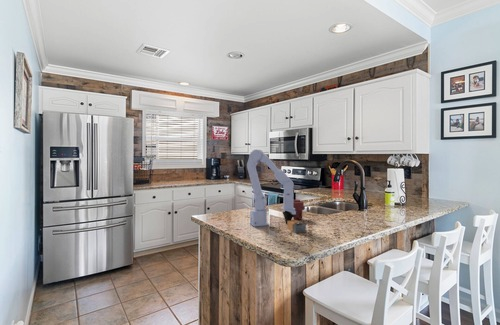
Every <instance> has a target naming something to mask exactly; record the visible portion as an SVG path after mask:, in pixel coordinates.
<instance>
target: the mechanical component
mask: <svg viewBox="0 0 500 325" xmlns="http://www.w3.org/2000/svg"><path fill="white" fill-rule="evenodd" d="M304 204H305V203H304V201H302V200H300V199H293V208H295V211H296V214H294V215H293V217H292V219H293V220H298V221H300V220H303V211H304V210H306V206H305V205H304Z"/></svg>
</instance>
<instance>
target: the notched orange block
mask: <svg viewBox="0 0 500 325" xmlns="http://www.w3.org/2000/svg"><path fill="white" fill-rule="evenodd" d="M297 222H301V223H303V222H302V221H300V220H294V219H292V220H291V221H287V224H286V225H287V226H286V227H287V230H290V231H291V232H293V224H296V223H297Z"/></svg>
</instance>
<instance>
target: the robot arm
mask: <svg viewBox="0 0 500 325" xmlns="http://www.w3.org/2000/svg"><path fill="white" fill-rule="evenodd" d="M248 156H249V157H248V160H247V163H246V169H247V172H248V176H249V180H250V184H251V187H252V191H253V199H254V202H253V206H254V208H253V209H252V210H251V209H250V213H249V224H250V225H251V226H253V227H254V228H255V227H266V226H270V224H269V223H268V222H267V221H268V220H267V219H268V217H267V215H268V213H267V212H268V210H267V207H266V206H267V204H268V200H267V198H266V197H265V194H264V193H263V190H262V186H261V182H260V178H259V175H258V170H257V165H258V164H259V162H261V163H263V164H265V165H266V166H267V167H269V169H270V170H271V171H272V172H273V173H274V174H273V177H274V178H275V179H276V180H277V181H278V182H279V184H280V185H282V188H283V205H282V206H280V207H281V210H282V215H283V217H284V221H285V225H287V221H291V220H293V215H294V214H296V211H295V208H293V201H294V188H295V185H294V182H293V180H292V179H291V178H290V177H289V176H288V175H287V174H286V171H285V170H283V169H280V168H278V167H277V166H276V165H275V163H274V162H273V161H272V159H271V158H270V157H269V156H268V155H267V154H266V153H264V152H263V150H262V149H253V150H252V151H251V152H250V153H249V155H248Z"/></svg>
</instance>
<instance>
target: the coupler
mask: <svg viewBox="0 0 500 325" xmlns="http://www.w3.org/2000/svg"><path fill="white" fill-rule="evenodd" d="M301 222H302V221H300V222H297V223H296V224H293V231H292V232H293V233H295V234H302V233H306V232H307V230H306V229H307V225H306V224H305V223H304V222H302V223H301Z"/></svg>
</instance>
